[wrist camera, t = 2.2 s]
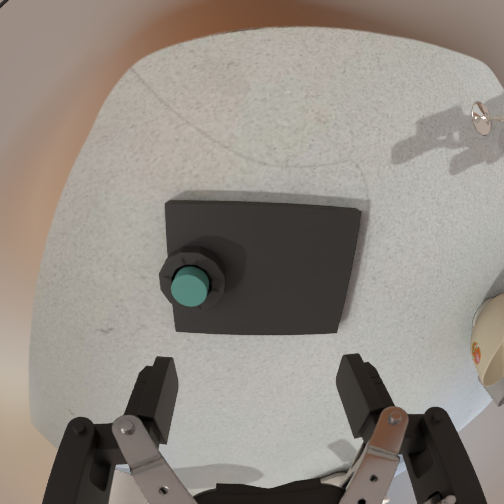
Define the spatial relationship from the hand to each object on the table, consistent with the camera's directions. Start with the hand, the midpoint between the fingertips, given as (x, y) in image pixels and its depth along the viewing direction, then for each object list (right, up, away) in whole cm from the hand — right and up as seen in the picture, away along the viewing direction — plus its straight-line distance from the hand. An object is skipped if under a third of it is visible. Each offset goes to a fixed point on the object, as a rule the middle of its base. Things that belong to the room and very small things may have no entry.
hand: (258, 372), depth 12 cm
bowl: (+39, -5, +21) cm, 45 cm away
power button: (-6, +3, +13) cm, 14 cm away
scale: (+1, +4, +16) cm, 16 cm away
